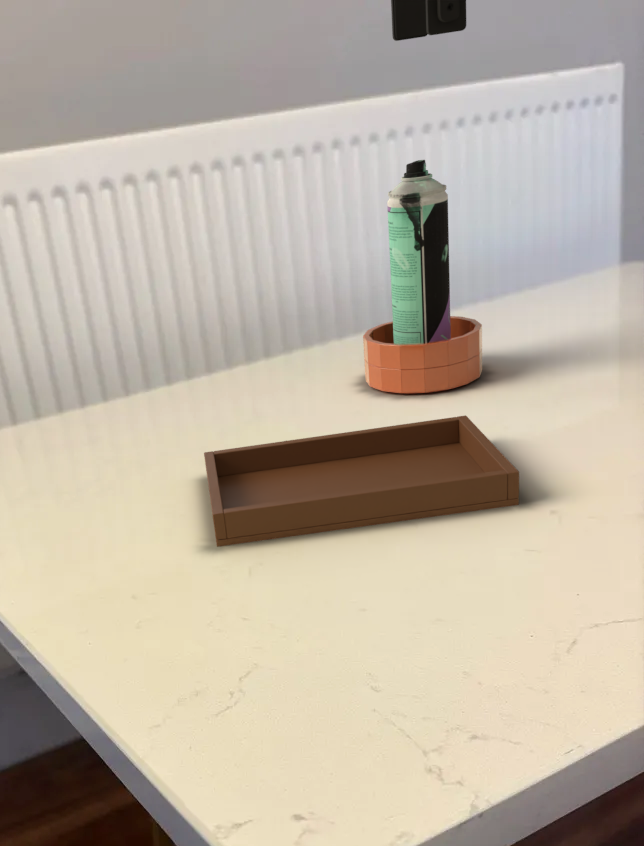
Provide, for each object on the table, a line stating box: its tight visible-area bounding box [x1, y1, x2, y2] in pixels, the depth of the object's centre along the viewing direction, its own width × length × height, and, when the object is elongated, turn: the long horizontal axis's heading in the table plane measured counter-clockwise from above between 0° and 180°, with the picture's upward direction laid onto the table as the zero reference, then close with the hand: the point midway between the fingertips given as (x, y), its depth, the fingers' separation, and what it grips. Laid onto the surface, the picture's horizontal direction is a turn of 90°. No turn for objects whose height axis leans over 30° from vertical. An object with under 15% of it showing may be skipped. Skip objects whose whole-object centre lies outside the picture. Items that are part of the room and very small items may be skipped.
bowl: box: [362, 315, 483, 395], centre depth 102 cm, size 11×11×5 cm
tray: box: [203, 415, 520, 547], centre depth 78 cm, size 22×14×3 cm, turn 92°
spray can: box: [386, 159, 451, 344], centre depth 98 cm, size 6×6×20 cm
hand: (427, 35), depth 89 cm, fingers open, 9 cm apart
